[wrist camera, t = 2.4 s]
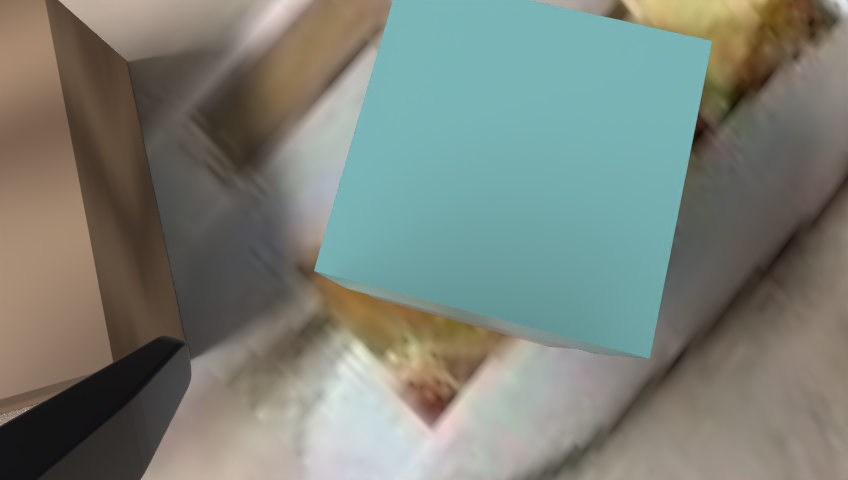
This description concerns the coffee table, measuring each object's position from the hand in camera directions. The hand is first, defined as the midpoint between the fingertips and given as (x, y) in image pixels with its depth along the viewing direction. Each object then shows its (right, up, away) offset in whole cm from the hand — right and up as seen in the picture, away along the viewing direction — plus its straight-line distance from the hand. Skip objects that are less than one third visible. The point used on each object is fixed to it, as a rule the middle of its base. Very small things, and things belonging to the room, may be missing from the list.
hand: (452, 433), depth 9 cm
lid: (+2, +4, +7) cm, 8 cm away
